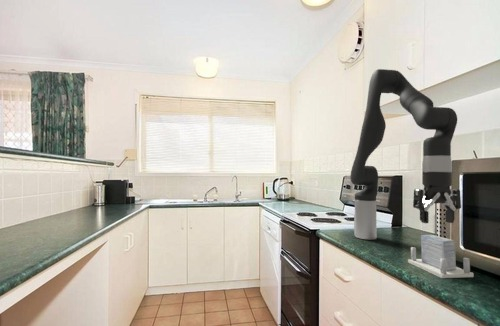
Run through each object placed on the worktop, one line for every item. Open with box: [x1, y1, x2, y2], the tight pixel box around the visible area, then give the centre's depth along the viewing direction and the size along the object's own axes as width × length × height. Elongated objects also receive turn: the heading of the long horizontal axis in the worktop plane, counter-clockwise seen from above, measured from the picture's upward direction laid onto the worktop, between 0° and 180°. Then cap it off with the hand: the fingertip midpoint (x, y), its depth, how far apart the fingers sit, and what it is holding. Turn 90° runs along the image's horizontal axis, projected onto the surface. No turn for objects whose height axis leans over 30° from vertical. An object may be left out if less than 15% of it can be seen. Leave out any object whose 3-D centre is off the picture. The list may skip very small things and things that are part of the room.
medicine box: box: [420, 234, 457, 270], centre depth 79 cm, size 8×4×9 cm, turn 11°
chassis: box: [407, 246, 474, 279], centre depth 79 cm, size 13×10×5 cm
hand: (437, 222), depth 80 cm, fingers open, 8 cm apart
